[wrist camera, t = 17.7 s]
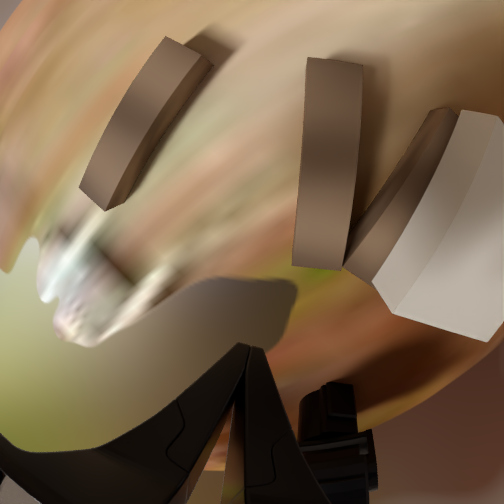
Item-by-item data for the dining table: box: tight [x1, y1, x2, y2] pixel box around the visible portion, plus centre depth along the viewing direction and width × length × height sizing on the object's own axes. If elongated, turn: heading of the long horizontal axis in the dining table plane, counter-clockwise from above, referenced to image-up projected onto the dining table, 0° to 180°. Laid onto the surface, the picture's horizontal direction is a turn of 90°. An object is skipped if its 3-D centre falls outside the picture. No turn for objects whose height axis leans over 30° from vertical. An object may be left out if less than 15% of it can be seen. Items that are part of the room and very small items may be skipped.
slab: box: [372, 110, 504, 342], centre depth 13 cm, size 12×14×3 cm
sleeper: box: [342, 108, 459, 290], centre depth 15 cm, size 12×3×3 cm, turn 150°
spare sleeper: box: [79, 36, 214, 211], centre depth 16 cm, size 12×3×3 cm, turn 142°
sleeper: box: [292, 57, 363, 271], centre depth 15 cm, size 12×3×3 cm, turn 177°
